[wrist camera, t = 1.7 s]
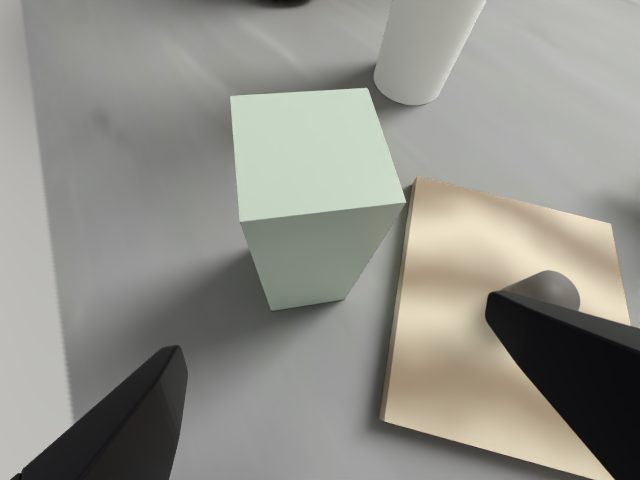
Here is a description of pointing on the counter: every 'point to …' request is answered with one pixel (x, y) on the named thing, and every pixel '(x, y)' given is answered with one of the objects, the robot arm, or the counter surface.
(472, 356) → the post base
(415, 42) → the cylindrical container
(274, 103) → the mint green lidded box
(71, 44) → the counter surface
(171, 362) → the robot arm
